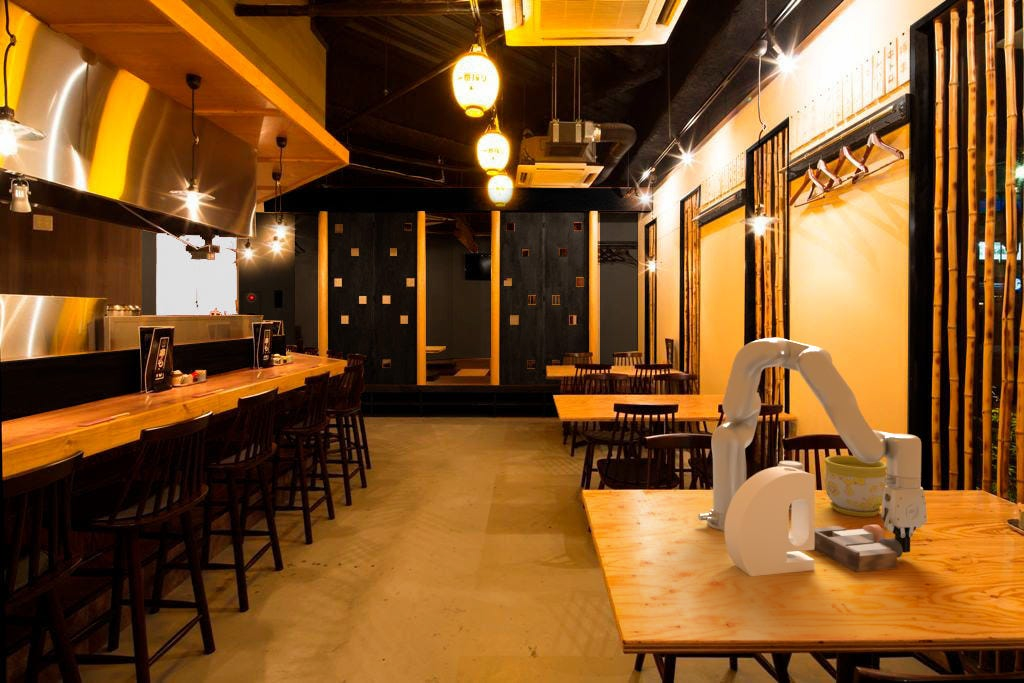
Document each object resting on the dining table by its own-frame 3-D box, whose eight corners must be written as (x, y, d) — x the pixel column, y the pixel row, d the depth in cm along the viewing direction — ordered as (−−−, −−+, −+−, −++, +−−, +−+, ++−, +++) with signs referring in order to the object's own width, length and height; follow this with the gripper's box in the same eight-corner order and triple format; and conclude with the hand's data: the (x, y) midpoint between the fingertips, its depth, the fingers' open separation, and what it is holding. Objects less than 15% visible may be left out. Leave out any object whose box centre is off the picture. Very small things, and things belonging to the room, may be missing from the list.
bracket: (814, 570, 148) (815, 471, 147) (739, 577, 144) (739, 475, 143) (796, 560, 155) (797, 465, 154) (724, 566, 151) (724, 469, 150)
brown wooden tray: (855, 572, 146) (856, 552, 146) (801, 542, 166) (801, 525, 166) (896, 568, 149) (897, 548, 149) (838, 539, 168) (838, 522, 168)
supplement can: (808, 510, 194) (809, 465, 193) (783, 510, 194) (783, 465, 193) (797, 503, 202) (797, 460, 201) (773, 503, 202) (773, 460, 202)
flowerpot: (811, 506, 198) (812, 458, 198) (848, 499, 205) (849, 453, 205) (862, 523, 182) (862, 470, 181) (900, 515, 189) (900, 464, 188)
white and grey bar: (859, 564, 150) (859, 546, 149) (845, 557, 154) (845, 539, 154) (902, 560, 152) (902, 542, 152) (887, 553, 157) (887, 535, 157)
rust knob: (843, 548, 160) (843, 531, 160) (830, 542, 165) (830, 525, 165) (884, 544, 163) (884, 527, 163) (870, 538, 167) (870, 522, 167)
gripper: (891, 487, 149) (890, 558, 150) (940, 483, 152) (939, 553, 153) (867, 479, 156) (866, 547, 157) (914, 476, 159) (913, 543, 160)
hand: (902, 550), depth 155 cm, fingers closed
